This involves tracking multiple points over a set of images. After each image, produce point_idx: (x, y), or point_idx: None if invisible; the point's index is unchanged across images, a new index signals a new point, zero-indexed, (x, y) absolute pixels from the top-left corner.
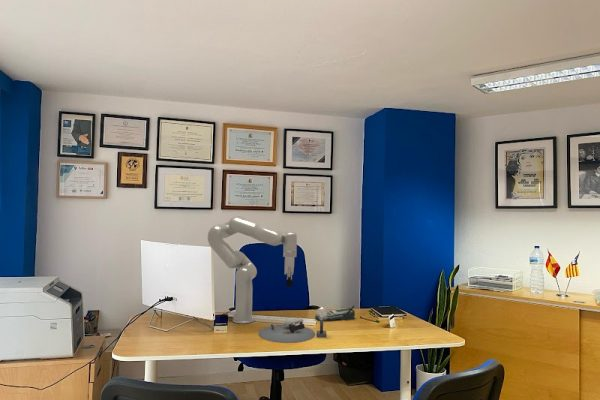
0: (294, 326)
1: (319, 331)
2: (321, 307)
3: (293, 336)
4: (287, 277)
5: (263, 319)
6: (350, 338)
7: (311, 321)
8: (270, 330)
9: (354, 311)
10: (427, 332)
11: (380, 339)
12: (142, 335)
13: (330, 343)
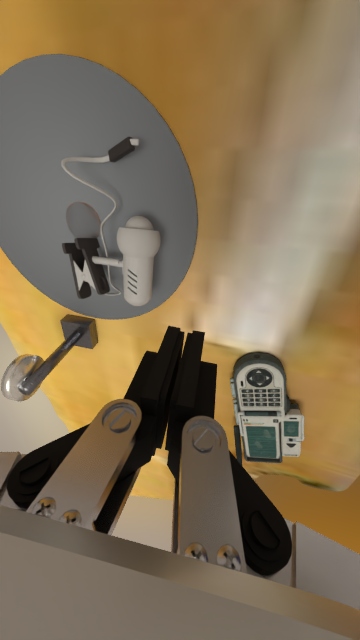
0: (70, 260)
1: (82, 331)
2: (10, 394)
3: (50, 244)
4: (83, 443)
5: (334, 74)
6: (82, 382)
7: (239, 334)
8: (100, 138)
9: (245, 458)
10: (143, 484)
11: (90, 422)
12: None
13: (32, 335)
